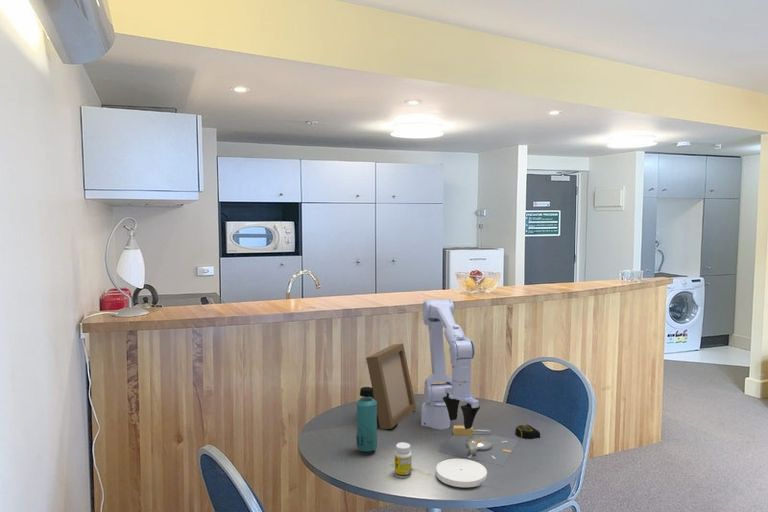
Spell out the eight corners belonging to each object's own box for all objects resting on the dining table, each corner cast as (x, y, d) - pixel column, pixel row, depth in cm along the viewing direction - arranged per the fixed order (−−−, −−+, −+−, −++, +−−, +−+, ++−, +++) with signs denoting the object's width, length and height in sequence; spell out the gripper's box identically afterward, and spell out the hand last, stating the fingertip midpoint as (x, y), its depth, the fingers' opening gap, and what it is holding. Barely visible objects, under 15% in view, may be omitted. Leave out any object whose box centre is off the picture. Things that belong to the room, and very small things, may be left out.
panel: (437, 455, 162) (437, 450, 162) (458, 432, 180) (458, 428, 180) (502, 469, 153) (502, 464, 153) (518, 444, 171) (518, 439, 171)
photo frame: (416, 411, 200) (417, 344, 199) (391, 431, 181) (392, 358, 179) (380, 405, 207) (381, 340, 205) (353, 424, 187) (353, 353, 186)
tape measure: (541, 441, 174) (541, 430, 173) (522, 444, 171) (522, 432, 171) (529, 433, 180) (529, 422, 180) (511, 436, 178) (511, 425, 178)
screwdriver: (454, 435, 175) (454, 428, 174) (453, 432, 177) (453, 425, 177) (491, 436, 174) (491, 429, 174) (490, 433, 177) (490, 426, 176)
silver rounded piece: (470, 438, 172) (470, 425, 172) (495, 442, 168) (495, 430, 168) (458, 452, 161) (458, 439, 161) (484, 458, 158) (484, 444, 157)
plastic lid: (438, 464, 157) (439, 456, 157) (487, 469, 154) (487, 461, 154) (432, 487, 143) (432, 478, 143) (486, 493, 140) (486, 484, 140)
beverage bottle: (380, 449, 166) (380, 385, 165) (372, 458, 160) (373, 392, 159) (360, 446, 168) (360, 383, 167) (352, 454, 162) (352, 389, 161)
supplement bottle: (393, 470, 152) (393, 441, 152) (410, 470, 153) (410, 441, 152) (395, 478, 147) (395, 449, 147) (412, 478, 148) (412, 448, 147)
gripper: (436, 375, 166) (436, 418, 167) (465, 388, 154) (464, 434, 154) (455, 372, 170) (454, 414, 171) (484, 384, 157) (483, 430, 158)
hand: (460, 423), depth 163 cm, fingers open, 7 cm apart
